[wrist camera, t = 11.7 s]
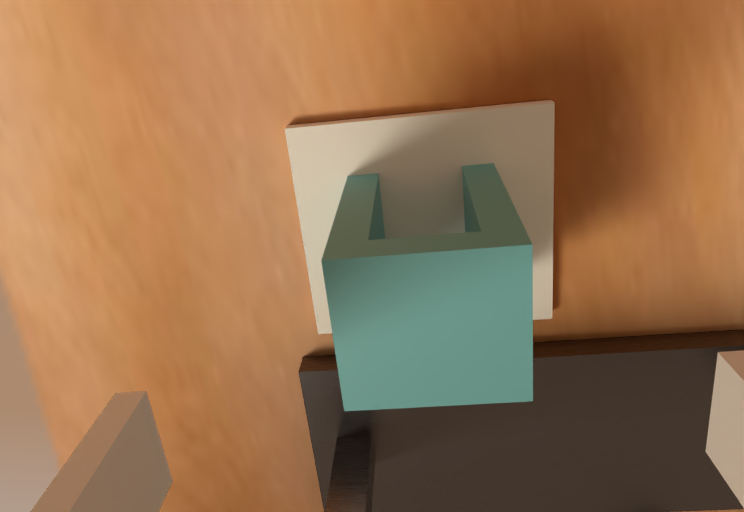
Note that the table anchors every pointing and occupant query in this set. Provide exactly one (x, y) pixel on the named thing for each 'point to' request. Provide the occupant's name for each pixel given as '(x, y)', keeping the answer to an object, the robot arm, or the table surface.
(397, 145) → the mat
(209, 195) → the table surface
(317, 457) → the stand
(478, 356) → the c link
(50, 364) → the table surface
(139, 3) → the table surface
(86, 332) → the table surface
